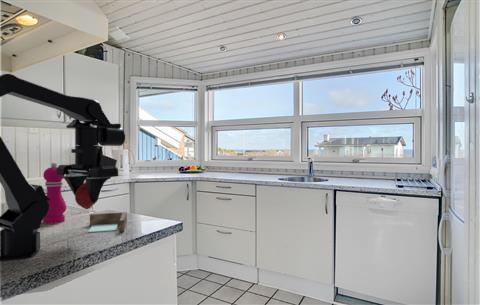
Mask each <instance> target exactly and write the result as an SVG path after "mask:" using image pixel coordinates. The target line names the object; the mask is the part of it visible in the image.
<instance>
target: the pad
mask: <svg viewBox="0 0 480 305" xmlns="http://www.w3.org/2000/svg"><path fill="white" fill-rule="evenodd" d="M118 226H119V223H118V224H103V225H91V227H90V228H89V230H87V233H88V234H89V233H90V234H91V233H101V232H102V233H103V232H115V231H117V228H118Z"/></svg>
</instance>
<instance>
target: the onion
mask: <svg viewBox="0 0 480 305" xmlns="http://www.w3.org/2000/svg"><path fill="white" fill-rule="evenodd" d="M74 199H75V202H76V204H77V205H78V206H79V207H81V208H83V209H84V210H90V209H91V208H92V206H94V205H96V203H92V201H91V198H90V195H89V191H88V187H87V183H86V181H84V184H83V185H82V186H80V187H79V189H78V190H77V191H76V194H75V195H74ZM99 199H100V195H99V196H98V199H97V201H98V200H99Z"/></svg>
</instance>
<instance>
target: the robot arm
mask: <svg viewBox="0 0 480 305" xmlns="http://www.w3.org/2000/svg"><path fill="white" fill-rule="evenodd" d="M5 95H9V96H13V97H16V98H19V99H22V100H25V101H30V102H31V103H35V104H39V105H42V106H45V107H47V108H52V109H54V110H57V111H59V112H61V113H63V114H64V115H66V116H67V117H69V118H71V119H73V120H72V121H71V122H70V123H68V124H67V125H66V129H73V130H74V148H71V150H70V151H71V154H74V163H71V164H59V165H57V175H64V176H63V179H64V181H65V182H66V183H67V185H68V187H69V188H70V190H71V191H72V194H73V195H74V196H75V194H76V191H77V190H78V189H79V187H80V186H82V185H83V184H84V183H85V182H86V183H87V187H88V191H89V195H90V198H91V201H92V203H95V204H96V203H97V202H98V200H99V198H98V196H99V197H100V193H101V190H102V188H103V186H104V184H105V183H106V182H107V181H108V180H110V179H112V177H119V169H118V167H117V162H118V160H117V159H115V158H112V157H110V156H108V155H104V154H103V152H104V151H103V149H102V148H100V149H99V145H100V146H102V147H122V146H123V145H124V143H125V142H126V133H125V131H124V129H123V128H122V127H121V126H122V124H121V123H111V122H110V120H109V119H108V117H107V115H106V114H105V112H104V111H103V108H102V106H101V104H100V102H99V101H98V100H96V99H92V98H88V97H87V98H86V97H80V96H71V95H68V94H65V93H61V92H59V91H56V90H53V89H51V88H48V87H46V86H42V85H39V84H37V83H34V82H30V81H28V80H25V79H24V78H23V79H22V78H19V77H18V76H16V75H14V74H11V73H3V74H1V75H0V98H1V97H4V96H5ZM89 176H90V177H89ZM0 185H1V187H2V188H3V191H4V195H5V196H4V197H5V198H4V199H5V202H6V205H7V209H6V210H5V211H4V212H3V213H2V214H1V215H0V228H1V230H0V261H7V260H8V261H9V260H21V259H27V258H28V259H29V258H32V257H33V256H34V255H36V253H37V252H38V251H40V250H41V232H40V231H39V229H40V227H41V225H42V223H43V218H44V217H45V216H46V214H47V213H48V210H49V203H48V201H50V199H49V198H48V197H47V196H46V195H47V194H46V193H45V190H44V188H43V186H42V185H40V184H39V185H38V184H31V183H29V182H28V181H27V179H26V178H25V176H24V174H23V172H22V170H21V169H20V167H19V166H18V164H17V162H16V160H15V159H14V157H13V155H12V154H11V152H10V150H9V148H8V147H7V145H6V144H5V141H3V138H2V137H1V136H0ZM97 199H98V200H97Z"/></svg>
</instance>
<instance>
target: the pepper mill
mask: <svg viewBox="0 0 480 305" xmlns="http://www.w3.org/2000/svg"><path fill="white" fill-rule="evenodd" d="M57 167H58V163H57V162H51V163H50V167H48V168H46V169H45V170H44V171H43V175H42V176H43V179H44V180H45V183H44V184H45V185H44V187H46V194H45V195H46V196H47V197H48V198H49V199H50V201H48V203H49V210H48V213H47V214H46V216H45V217H44V218H43V220H42V223H43V224H46V225H49V224H51V225H52V224H58V223H62V222H64V221H65V220H66V218H65V216H66V215H65V214H64V213H65V212H66V210H67V204H66V201H65V199H64V197H63V195H62V186H63V185H64V184H63V179H64V178H63V176H65V174H64V175H57Z"/></svg>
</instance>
